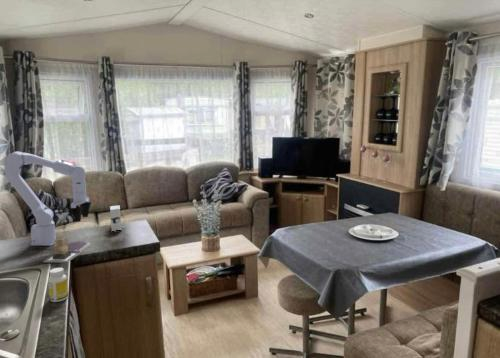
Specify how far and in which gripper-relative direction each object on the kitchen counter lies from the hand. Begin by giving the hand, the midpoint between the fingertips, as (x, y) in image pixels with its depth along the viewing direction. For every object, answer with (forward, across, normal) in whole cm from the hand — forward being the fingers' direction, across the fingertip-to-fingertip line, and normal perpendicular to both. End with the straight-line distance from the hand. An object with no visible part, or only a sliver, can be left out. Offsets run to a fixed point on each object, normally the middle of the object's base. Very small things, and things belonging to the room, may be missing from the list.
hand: (81, 219), depth 176 cm
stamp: (+10, -24, -2) cm, 25 cm away
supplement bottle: (+10, -58, -19) cm, 62 cm away
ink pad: (+10, -13, -2) cm, 16 cm away
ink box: (+10, +16, -10) cm, 21 cm away
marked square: (+10, -24, -2) cm, 26 cm away
